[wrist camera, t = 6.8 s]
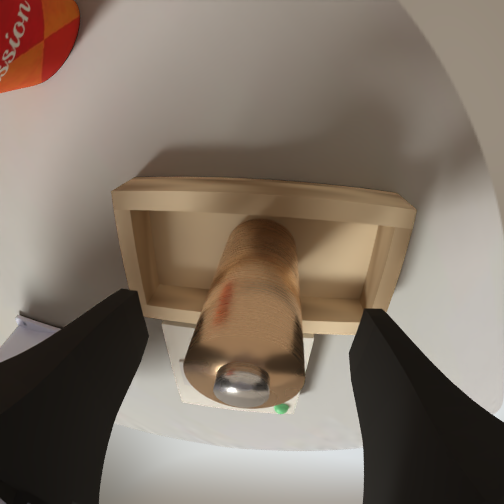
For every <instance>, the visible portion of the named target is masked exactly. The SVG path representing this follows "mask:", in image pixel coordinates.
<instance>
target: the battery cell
mask: <svg viewBox="0 0 504 504" xmlns="http://www.w3.org/2000/svg"><path fill="white" fill-rule="evenodd" d="M183 369H184V373H185V376H186V378H187V380H188V381H189V383H190V384H191V385H192V386H193V387H194V388H195V389H196V390H197V391H198V392H199V393H201V394H202V395H204V396H206V397H207V398H209V399H211V400H213V401H215V402H218V403H221V404H224V405H227V406H232V407H237V408H246V409H259V408H268V407H272V406H276V405H279V404H282V403H284V402H287V401H288V400H290V399H292V398H293V397H294V396H296V395H297V394H298V393H299V392H300V390H301V389H302V387H303V385H304V383H305V361H304V342H303V326H302V311H301V298H300V285H299V273H298V262H297V251H296V244H295V241H294V238H293V237H292V235H291V233H290V232H289V231H288V230H287V229H286V228H285V227H284V226H282V225H281V224H279V223H277V222H275V221H272V220H268V219H252V220H248V221H245V222H243V223H241V224H240V225H238V226H237V227H236V228H235V229H234V230H233V231H232V232H231V234H230V235H229V237H228V240H227V243H226V245H225V248H224V251H223V253H222V256H221V259H220V261H219V264H218V267H217V269H216V272H215V275H214V278H213V280H212V283H211V286H210V288H209V291H208V294H207V297H206V299H205V302H204V305H203V308H202V311H201V313H200V316H199V319H198V322H197V325H196V328H195V330H194V333H193V336H192V339H191V342H190V345H189V348H188V350H187V353H186V356H185V359H184V363H183Z"/></svg>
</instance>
